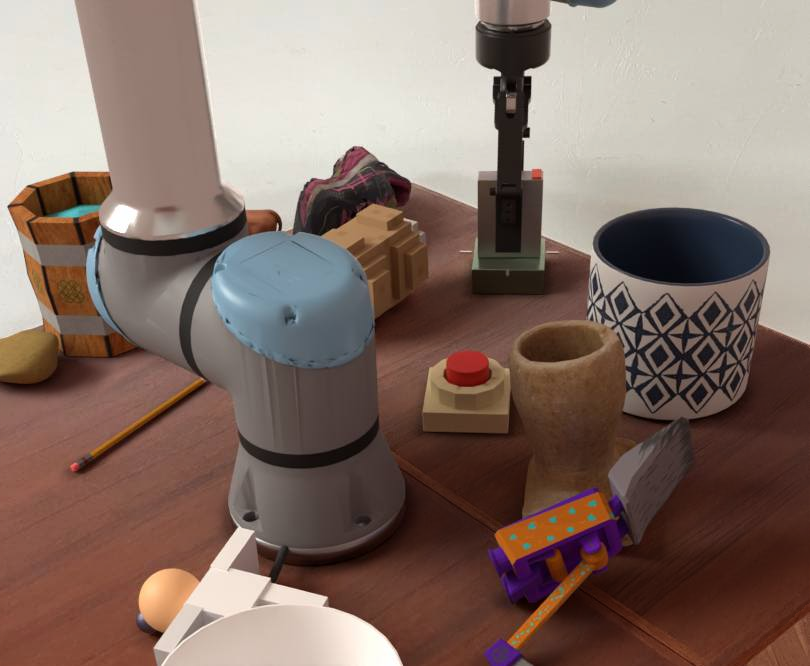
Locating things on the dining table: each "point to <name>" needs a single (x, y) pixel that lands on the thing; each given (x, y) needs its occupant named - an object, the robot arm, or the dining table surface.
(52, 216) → the mug
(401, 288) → the roast turkey
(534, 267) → the tap panel
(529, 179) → the tap handle
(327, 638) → the bowl
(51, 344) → the potato
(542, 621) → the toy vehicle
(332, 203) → the athletic shoe
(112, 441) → the pencil
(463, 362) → the red button
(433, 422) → the button box
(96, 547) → the dining table surface
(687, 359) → the planter
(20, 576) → the dining table surface
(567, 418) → the stone cup
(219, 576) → the figurine
